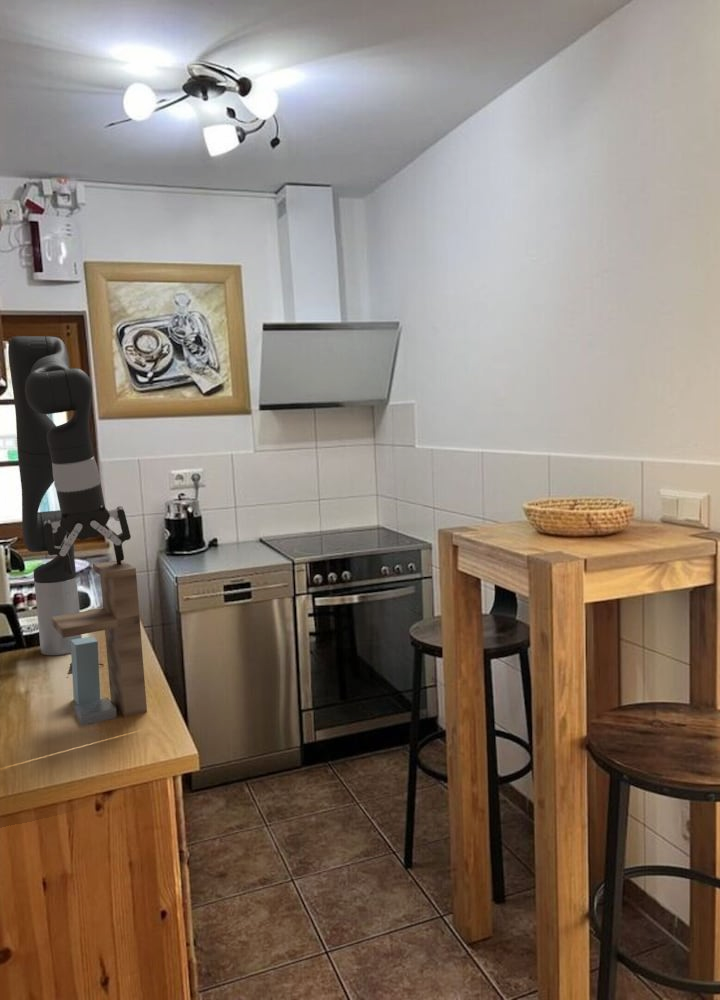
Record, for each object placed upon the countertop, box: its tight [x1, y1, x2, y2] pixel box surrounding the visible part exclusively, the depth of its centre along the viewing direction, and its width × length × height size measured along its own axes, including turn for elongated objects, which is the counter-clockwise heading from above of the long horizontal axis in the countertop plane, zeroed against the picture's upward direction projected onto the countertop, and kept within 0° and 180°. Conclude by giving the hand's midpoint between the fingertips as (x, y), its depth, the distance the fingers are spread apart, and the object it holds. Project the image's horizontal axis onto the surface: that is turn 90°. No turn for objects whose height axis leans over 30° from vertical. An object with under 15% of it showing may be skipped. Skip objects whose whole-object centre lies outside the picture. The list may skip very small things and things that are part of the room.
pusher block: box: [70, 636, 101, 705], centre depth 142 cm, size 4×4×12 cm
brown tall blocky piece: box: [51, 560, 148, 718], centre depth 135 cm, size 10×13×27 cm
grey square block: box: [73, 697, 118, 727], centre depth 134 cm, size 6×6×2 cm
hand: (94, 568), depth 136 cm, fingers open, 8 cm apart
